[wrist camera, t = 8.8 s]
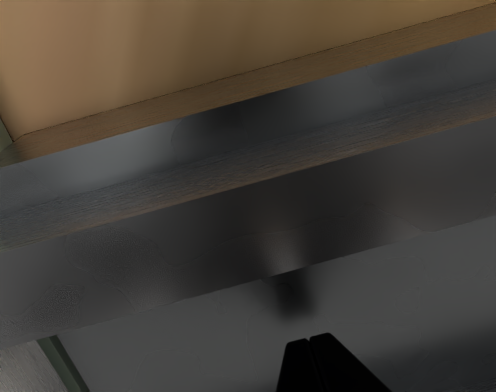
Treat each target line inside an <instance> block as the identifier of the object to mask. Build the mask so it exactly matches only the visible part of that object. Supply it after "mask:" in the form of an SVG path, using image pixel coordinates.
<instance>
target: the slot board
mask: <svg viewBox="0 0 496 392" xmlns="http://www.w3.org/2000/svg"><path fill="white" fill-rule="evenodd" d="M327 332H328V333H331V334H332V335H333V336H335V337H336V338H337V339H338V340H339V341H340V342H341V343H342V344H343V345H344V346H345V347H346V348H347V349H348V350H349V351H350V352H351V353H352V354H354V355H355V356H356V357H357V358H358V359H359V360H360V361H361V362H362V363H363V364H364V365H365V366H366V367H367V368H368V369H369V370H370V371H371V372H372V373H374V374H375V375H376V376H377V377H378V378H379V379H380V380H381V381H382V382H383V383H384V384H385V385H386V386H387V387H388V388H389V389H390V390H391V391H392V392H496V3H493V4H489V5H486V6H482V7H479V8H475V9H471V10H468V11H464V12H461V13H457V14H453V15H450V16H446V17H443V18H439V19H436V20H432V21H428V22H425V23H421V24H418V25H414V26H411V27H407V28H403V29H400V30H396V31H393V32H389V33H386V34H382V35H378V36H375V37H371V38H368V39H364V40H360V41H357V42H353V43H350V44H346V45H343V46H339V47H335V48H332V49H328V50H325V51H321V52H318V53H314V54H310V55H307V56H303V57H300V58H296V59H293V60H289V61H285V62H282V63H278V64H275V65H271V66H267V67H264V68H260V69H257V70H253V71H250V72H246V73H242V74H239V75H235V76H232V77H228V78H225V79H221V80H217V81H214V82H210V83H207V84H203V85H200V86H196V87H192V88H189V89H185V90H182V91H178V92H174V93H171V94H167V95H164V96H160V97H157V98H153V99H149V100H146V101H142V102H139V103H135V104H132V105H128V106H124V107H121V108H117V109H114V110H110V111H107V112H103V113H99V114H96V115H92V116H89V117H85V118H81V119H78V120H74V121H71V122H67V123H64V124H60V125H56V126H53V127H49V128H46V129H42V130H39V131H35V132H31V133H28V134H24V135H23V136H21V137H20V138H19V139H17V140H16V141H14V142H13V143H12V144H10V145H9V146H7V147H6V148H5V149H3V150H2V151H1V152H0V350H2V349H5V348H9V347H13V346H16V345H20V344H24V343H27V342H31V341H35V340H38V339H42V338H46V337H49V336H53V335H57V337H58V338H59V340H60V342H61V343H62V345H63V347H64V348H65V350H66V352H67V353H68V355H69V357H70V358H71V360H72V362H73V363H74V365H75V367H76V368H77V370H78V372H79V374H80V375H81V377H82V379H83V380H84V382H85V384H86V385H87V387H88V389H89V390H90V392H275V391H276V387H277V382H278V378H279V373H280V369H281V364H282V360H283V355H284V350H285V346H286V344H287V343H288V342H291V341H295V340H299V339H303V338H306V339H308V341H309V338H310V337H311V336H315V335H319V334H323V333H327Z"/></svg>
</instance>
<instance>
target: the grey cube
mask: <svg viewBox="0 0 496 392" xmlns="http://www.w3.org/2000/svg"><path fill="white" fill-rule="evenodd" d="M0 392H69V391H68V390H67V388H66V386H65V385H64V383H63V382H62V380H61V379H60V377H59V375H58V374H57V372H56V371H55V369H54V367H53V366H52V364H51V363H50V361H49V360H48V358H47V356H46V355H45V353H44V352H43V350H42V349H41V347H40V345H39V344H38V342H37V341H36V340H35V341H31V342H27V343H24V344H20V345H16V346H13V347H9V348H5V349H2V350H0Z"/></svg>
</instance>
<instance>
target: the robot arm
mask: <svg viewBox="0 0 496 392" xmlns="http://www.w3.org/2000/svg"><path fill="white" fill-rule="evenodd" d="M275 392H392V391H391V390H390V389H389V388H388V387H387V386H386V385H385V384H384V383H383V382H382V381H381V380H380V379H379V378H378V377H377V376H376V375H375V374H374V373H372V372H371V371H370V370H369V369H368V368H367V367H366V366H365V365H364V364H363V363H362V362H361V361H360V360H359V359H358V358H357V357H356V356H355V355H354V354H352V353H351V352H350V351H349V350H348V349H347V348H346V347H345V346H344V345H343V344H342V343H341V342H340V341H339V340H338V339H337V338H336V337H335V336H333V335H332V334H331V333H328V332H327V333H323V334H319V335H315V336H311V337H310V338H309V341H308V339H306V338H303V339H299V340H295V341H291V342H288V343H287V344H286V346H285V350H284V355H283V360H282V364H281V369H280V373H279V378H278V382H277V387H276V391H275Z"/></svg>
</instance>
